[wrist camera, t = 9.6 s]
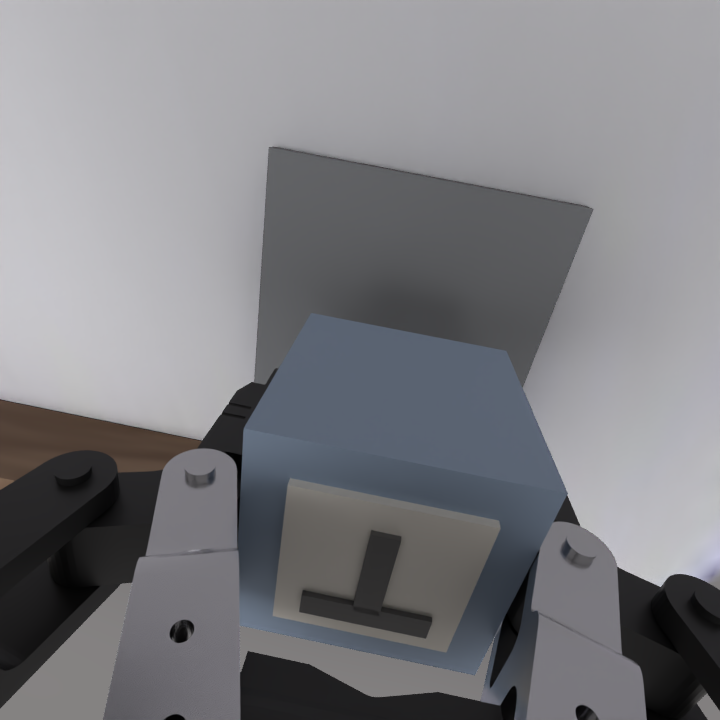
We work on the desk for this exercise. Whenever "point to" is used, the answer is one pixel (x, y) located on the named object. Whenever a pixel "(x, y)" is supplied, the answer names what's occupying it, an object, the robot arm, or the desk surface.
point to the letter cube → (391, 494)
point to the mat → (408, 256)
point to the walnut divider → (78, 441)
